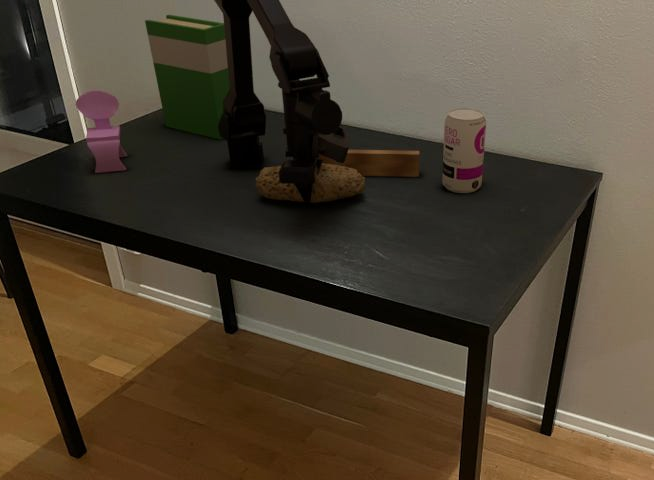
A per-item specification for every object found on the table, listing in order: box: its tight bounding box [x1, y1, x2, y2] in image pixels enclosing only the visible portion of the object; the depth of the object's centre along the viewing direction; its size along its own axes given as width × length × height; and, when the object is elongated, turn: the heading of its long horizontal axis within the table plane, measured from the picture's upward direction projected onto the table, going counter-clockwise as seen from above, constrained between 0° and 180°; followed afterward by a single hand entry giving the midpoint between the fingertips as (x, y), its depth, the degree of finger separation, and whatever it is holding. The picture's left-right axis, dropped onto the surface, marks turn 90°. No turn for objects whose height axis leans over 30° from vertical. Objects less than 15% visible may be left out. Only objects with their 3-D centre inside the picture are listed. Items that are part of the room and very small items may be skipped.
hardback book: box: [144, 14, 229, 140], centre depth 166 cm, size 18×7×24 cm, turn 61°
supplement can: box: [441, 107, 487, 194], centre depth 143 cm, size 8×8×15 cm
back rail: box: [315, 149, 420, 178], centre depth 151 cm, size 26×2×5 cm, turn 89°
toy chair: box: [75, 89, 128, 174], centre depth 150 cm, size 8×9×15 cm
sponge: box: [255, 163, 367, 204], centre depth 140 cm, size 13×8×20 cm
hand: (307, 201), depth 135 cm, fingers closed
